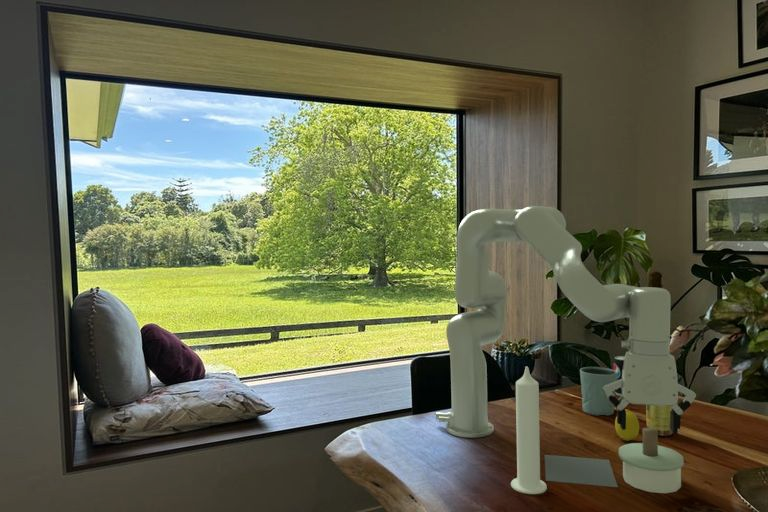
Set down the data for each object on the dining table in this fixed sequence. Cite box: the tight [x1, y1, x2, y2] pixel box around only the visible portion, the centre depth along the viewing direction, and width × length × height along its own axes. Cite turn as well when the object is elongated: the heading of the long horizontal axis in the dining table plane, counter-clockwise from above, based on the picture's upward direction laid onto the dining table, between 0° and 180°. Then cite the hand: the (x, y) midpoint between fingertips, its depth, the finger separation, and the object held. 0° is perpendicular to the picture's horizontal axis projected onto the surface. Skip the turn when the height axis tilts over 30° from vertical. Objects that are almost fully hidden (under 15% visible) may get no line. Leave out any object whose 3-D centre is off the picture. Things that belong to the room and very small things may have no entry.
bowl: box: [622, 460, 682, 494], centre depth 111 cm, size 10×10×5 cm
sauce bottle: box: [645, 405, 674, 437], centre depth 139 cm, size 6×6×20 cm
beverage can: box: [613, 355, 625, 397], centre depth 174 cm, size 7×7×12 cm
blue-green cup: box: [579, 366, 617, 416], centre depth 158 cm, size 10×10×12 cm
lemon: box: [614, 409, 640, 442], centre depth 134 cm, size 6×6×8 cm
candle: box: [510, 366, 548, 495], centre depth 110 cm, size 7×7×25 cm
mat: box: [544, 454, 619, 488], centre depth 118 cm, size 14×14×1 cm
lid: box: [618, 427, 684, 471], centre depth 111 cm, size 12×12×6 cm
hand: (647, 429), depth 112 cm, fingers open, 9 cm apart
